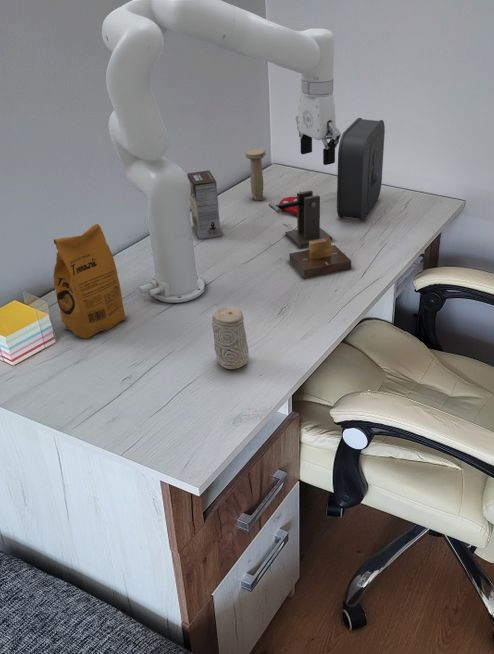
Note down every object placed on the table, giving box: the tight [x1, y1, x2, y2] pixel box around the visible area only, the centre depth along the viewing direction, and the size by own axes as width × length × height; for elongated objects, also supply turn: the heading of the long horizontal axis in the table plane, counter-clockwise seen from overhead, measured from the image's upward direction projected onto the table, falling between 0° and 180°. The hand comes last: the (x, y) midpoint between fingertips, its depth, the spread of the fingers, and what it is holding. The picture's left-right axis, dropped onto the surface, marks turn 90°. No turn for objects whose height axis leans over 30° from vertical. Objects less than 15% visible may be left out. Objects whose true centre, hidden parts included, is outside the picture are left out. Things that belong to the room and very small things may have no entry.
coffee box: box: [186, 169, 222, 240], centre depth 184 cm, size 9×6×16 cm
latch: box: [268, 195, 312, 214], centre depth 177 cm, size 12×5×2 cm, turn 119°
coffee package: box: [52, 223, 126, 340], centre depth 142 cm, size 10×12×22 cm
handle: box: [245, 147, 266, 201], centre depth 205 cm, size 5×6×15 cm
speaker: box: [336, 117, 386, 221], centre depth 196 cm, size 25×9×25 cm, turn 162°
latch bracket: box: [284, 190, 333, 249], centre depth 182 cm, size 10×9×13 cm
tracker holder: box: [278, 190, 302, 216], centre depth 202 cm, size 12×4×10 cm
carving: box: [211, 306, 249, 370], centre depth 133 cm, size 6×8×12 cm
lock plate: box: [288, 244, 352, 280], centre depth 171 cm, size 13×10×3 cm
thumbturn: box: [308, 237, 332, 260], centre depth 169 cm, size 6×2×5 cm, turn 114°
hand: (317, 158), depth 166 cm, fingers open, 9 cm apart
